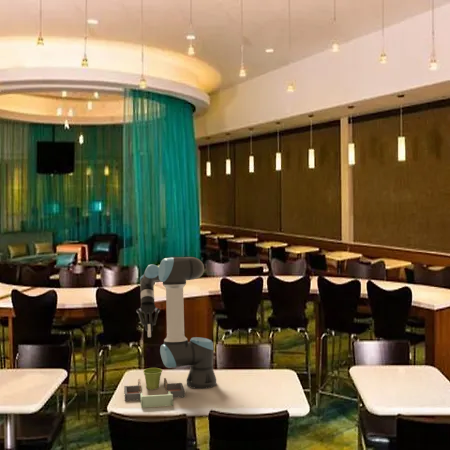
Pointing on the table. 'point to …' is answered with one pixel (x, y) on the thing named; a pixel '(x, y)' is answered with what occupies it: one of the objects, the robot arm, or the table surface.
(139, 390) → the chute
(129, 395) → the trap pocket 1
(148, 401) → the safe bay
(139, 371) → the table surface
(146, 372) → the plant pot
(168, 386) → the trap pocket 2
